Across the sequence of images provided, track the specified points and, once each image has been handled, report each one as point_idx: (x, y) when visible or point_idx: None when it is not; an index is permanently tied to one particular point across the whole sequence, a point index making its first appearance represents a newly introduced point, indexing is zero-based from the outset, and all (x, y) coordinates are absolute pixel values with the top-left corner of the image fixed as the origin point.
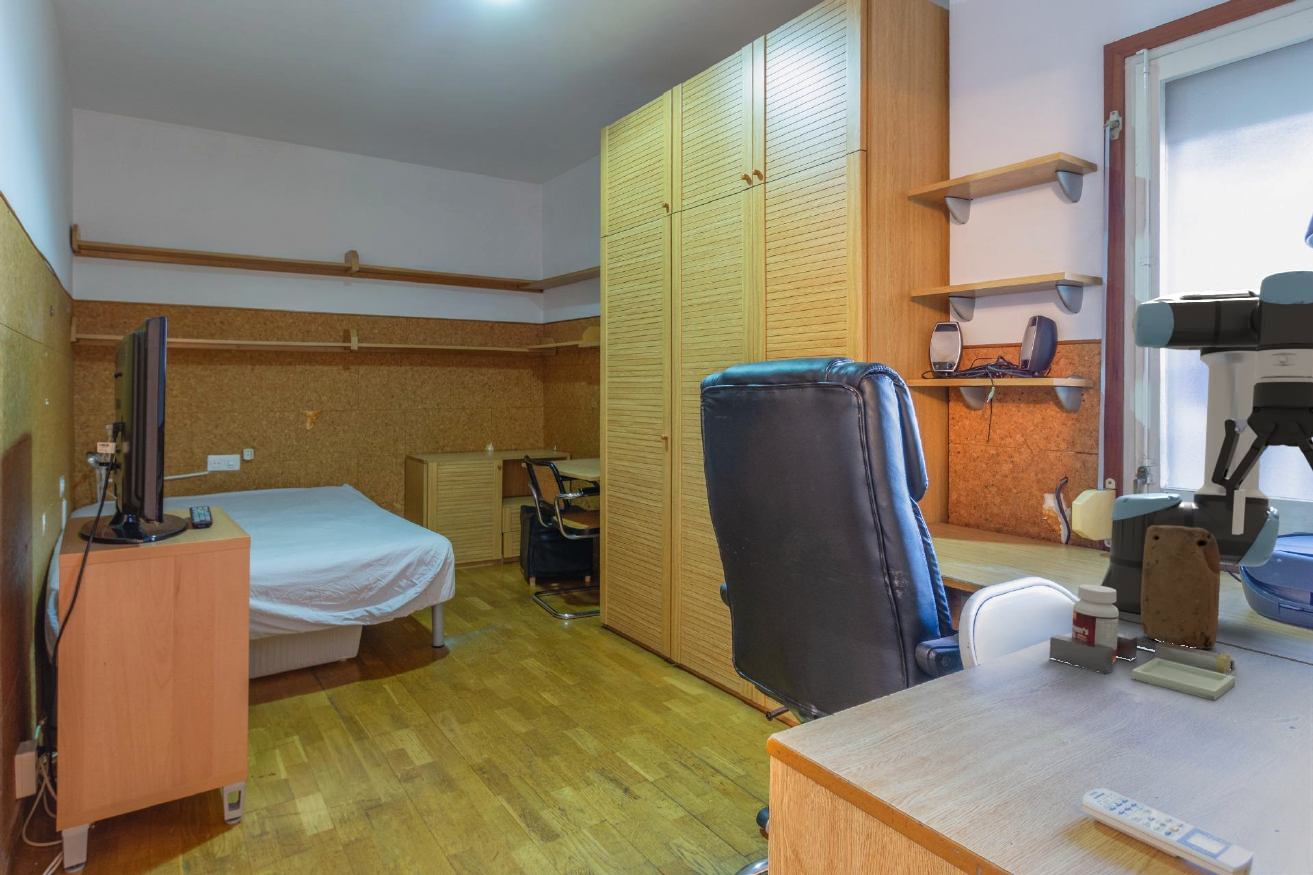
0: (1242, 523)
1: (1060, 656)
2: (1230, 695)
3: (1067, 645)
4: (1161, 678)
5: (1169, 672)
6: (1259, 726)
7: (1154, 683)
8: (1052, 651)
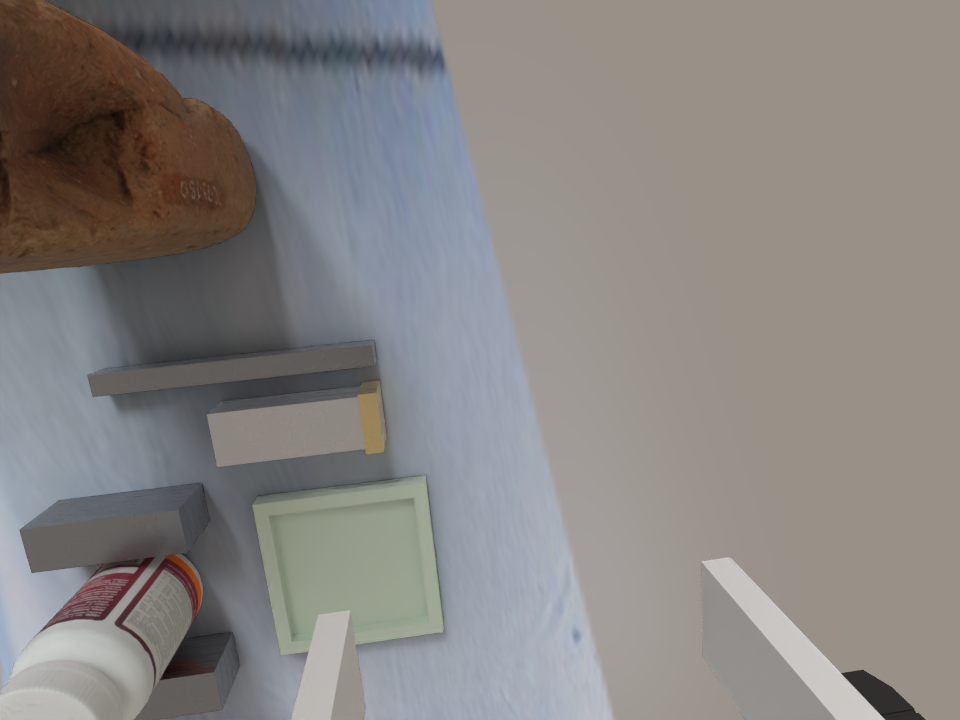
0: (347, 684)
1: None
2: (448, 557)
3: None
4: None
5: (315, 549)
6: (542, 682)
7: None
8: None
